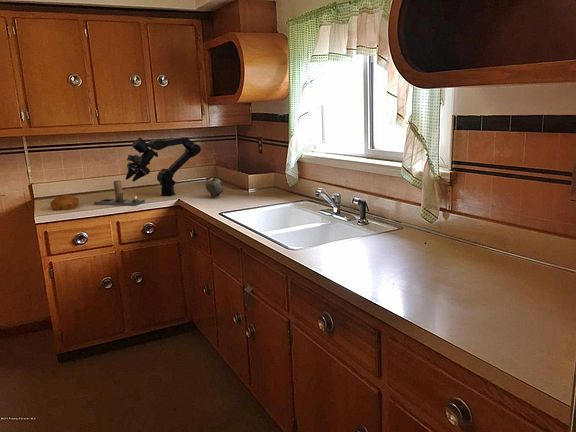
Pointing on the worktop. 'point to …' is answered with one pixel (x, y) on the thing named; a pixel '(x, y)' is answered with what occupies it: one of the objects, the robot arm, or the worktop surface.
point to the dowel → (118, 191)
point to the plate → (125, 202)
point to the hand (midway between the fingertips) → (129, 180)
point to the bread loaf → (64, 202)
